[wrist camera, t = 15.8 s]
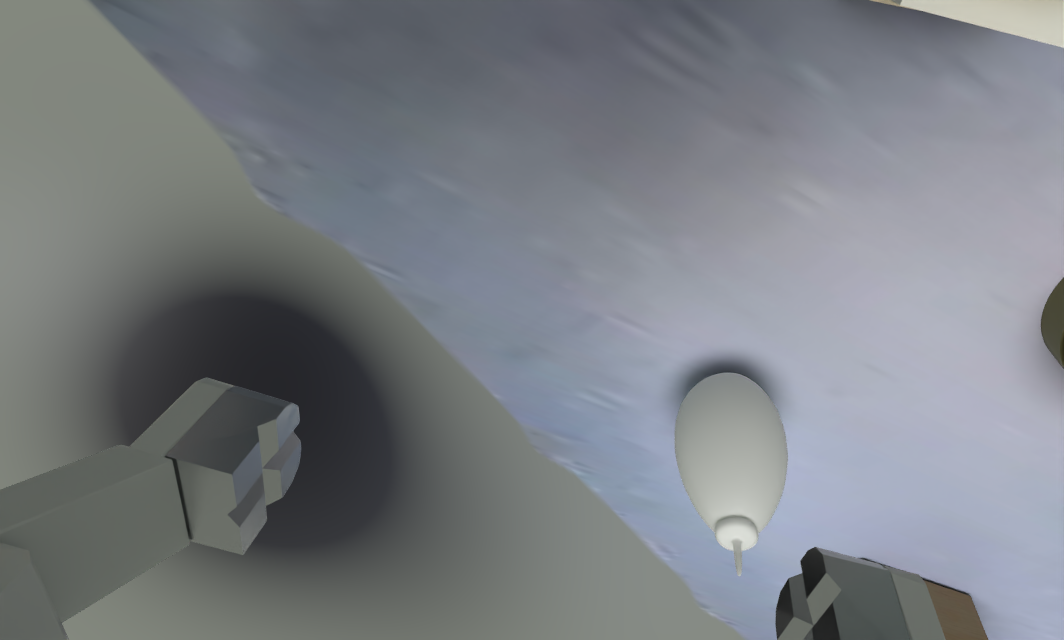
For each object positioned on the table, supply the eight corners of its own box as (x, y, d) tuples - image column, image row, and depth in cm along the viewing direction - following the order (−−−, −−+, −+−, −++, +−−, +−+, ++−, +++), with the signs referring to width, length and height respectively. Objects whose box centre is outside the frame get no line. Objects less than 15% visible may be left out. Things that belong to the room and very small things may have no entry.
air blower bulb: (753, 335, 50) (780, 518, 35) (790, 408, 53) (829, 605, 38) (660, 367, 54) (650, 547, 39) (700, 434, 56) (704, 624, 42)
